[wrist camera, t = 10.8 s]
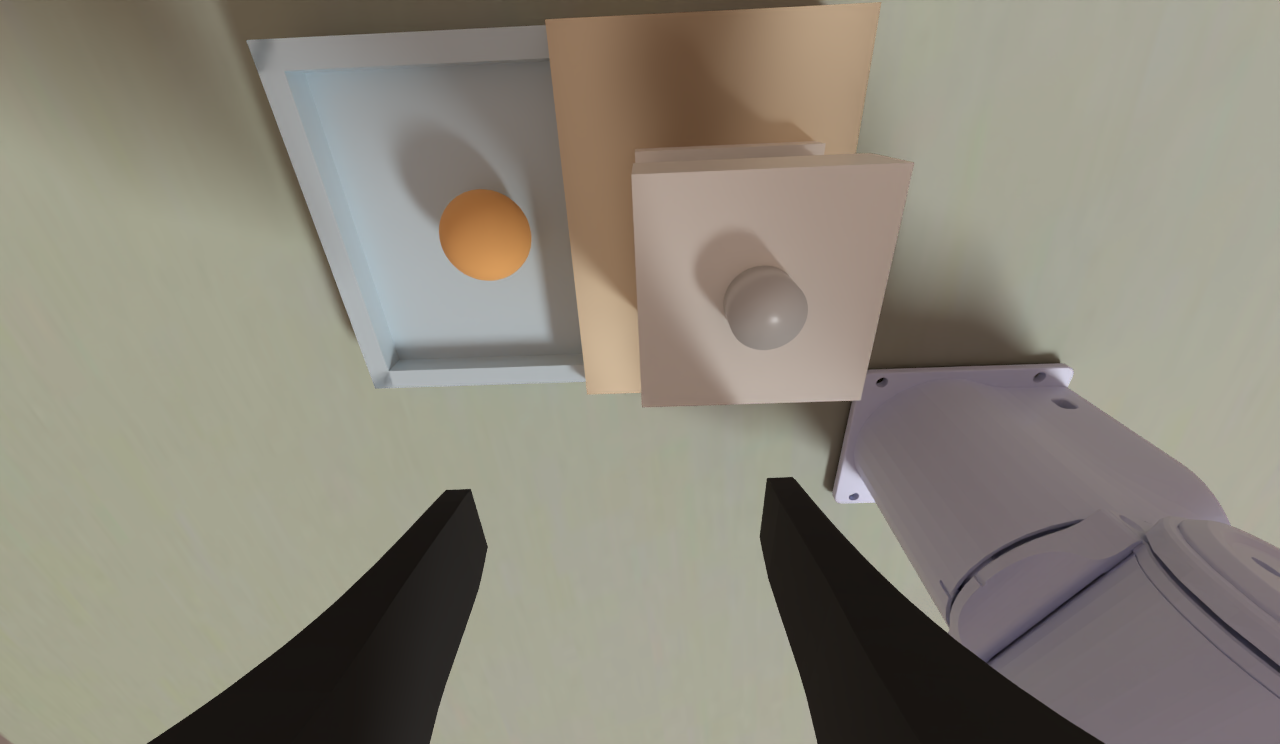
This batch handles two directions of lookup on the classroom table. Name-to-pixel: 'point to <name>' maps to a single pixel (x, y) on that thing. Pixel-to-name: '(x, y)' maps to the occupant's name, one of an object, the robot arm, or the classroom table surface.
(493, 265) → the ball
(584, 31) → the board
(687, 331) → the small drawer with knob
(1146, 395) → the classroom table surface
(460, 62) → the tray
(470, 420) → the classroom table surface
